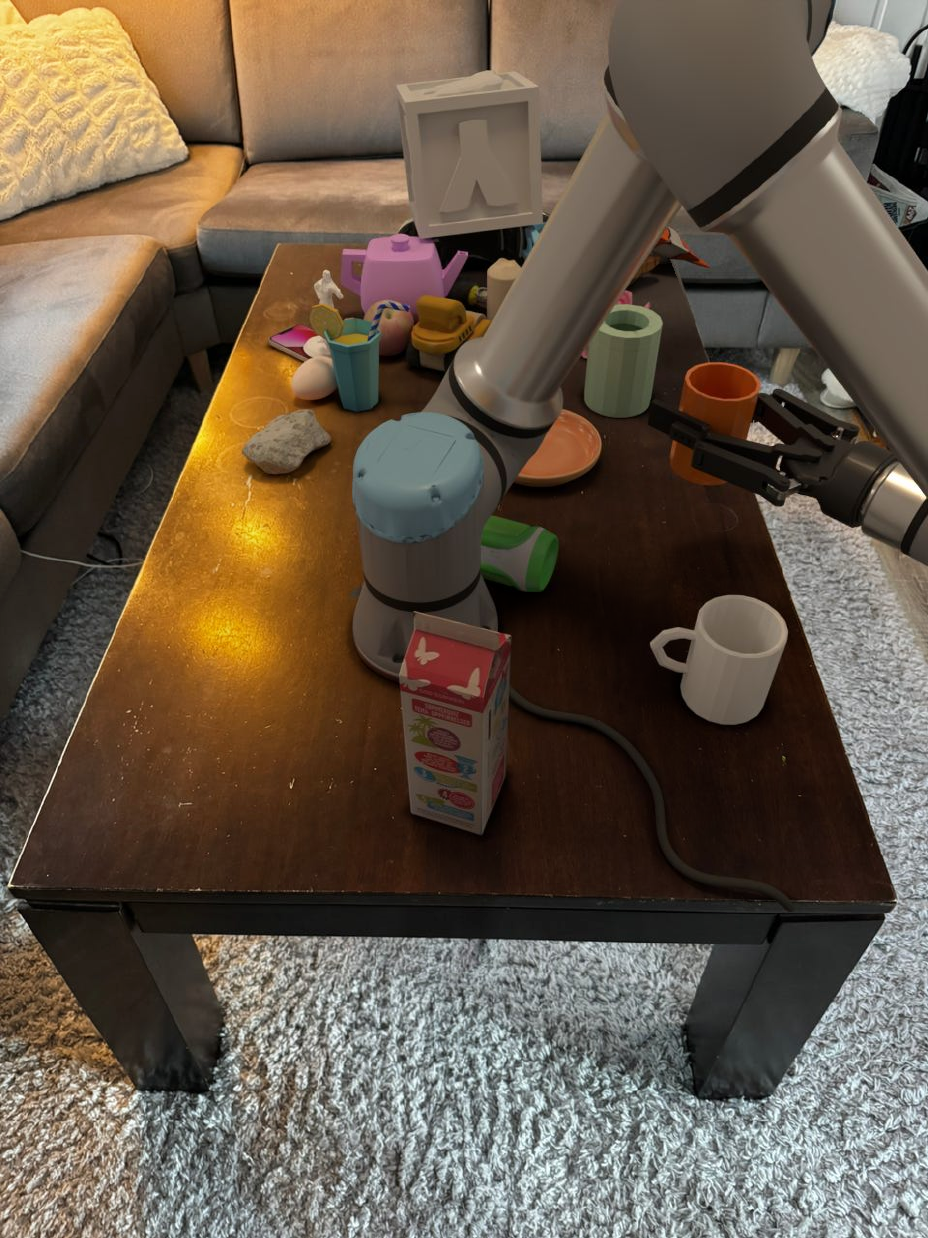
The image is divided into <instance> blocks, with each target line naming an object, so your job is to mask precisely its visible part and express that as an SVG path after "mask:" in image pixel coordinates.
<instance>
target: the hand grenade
mask: <svg viewBox="0 0 928 1238" xmlns="http://www.w3.org/2000/svg"><path fill="white" fill-rule="evenodd" d="M445 298H447V299H452V300H456V301H459V302H461V303H462V304H463V306H464V308H465V309H472V308H474V307H475V306H477V307H480V308H484V309H486V310H487V287H483V286H482V287H480V286H479V284H478V283H477V282H476V281H474V280H472V279H470V278H466V277H461V276H460V277H459V276H457V278H456V280H455V282H454V284H453V285H452V287H451V289H450V291H449V293H448V295H447V296H445Z"/></svg>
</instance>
